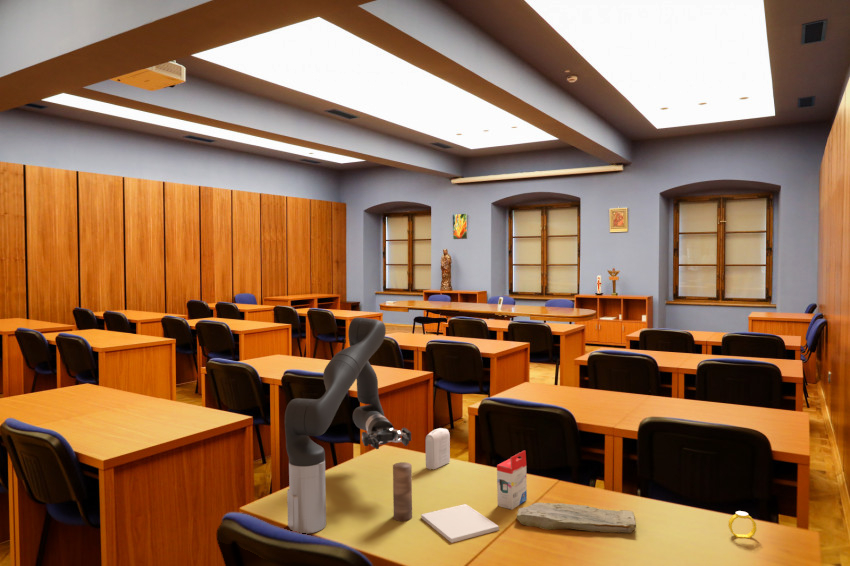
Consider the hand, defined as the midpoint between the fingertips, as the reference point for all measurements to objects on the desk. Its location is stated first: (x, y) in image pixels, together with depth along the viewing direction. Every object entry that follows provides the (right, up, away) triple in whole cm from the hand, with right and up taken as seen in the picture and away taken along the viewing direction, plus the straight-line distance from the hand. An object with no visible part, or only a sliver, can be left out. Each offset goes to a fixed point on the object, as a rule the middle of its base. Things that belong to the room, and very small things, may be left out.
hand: (392, 443), depth 164 cm
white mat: (+18, -17, -15) cm, 29 cm away
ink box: (+34, -16, -2) cm, 38 cm away
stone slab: (+49, -17, -15) cm, 54 cm away
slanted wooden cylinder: (+3, -17, -10) cm, 20 cm away
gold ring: (+87, -16, -24) cm, 92 cm away
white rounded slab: (+14, -16, +30) cm, 37 cm away
